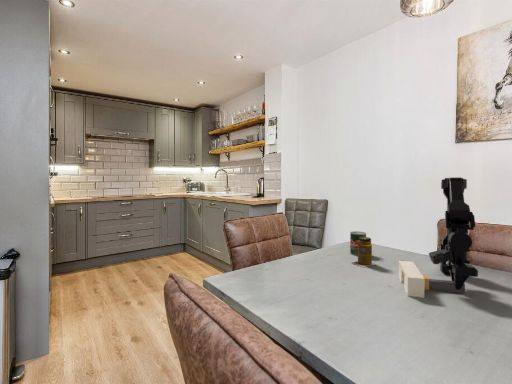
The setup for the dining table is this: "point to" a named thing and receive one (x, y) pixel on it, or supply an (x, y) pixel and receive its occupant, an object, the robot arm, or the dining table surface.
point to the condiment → (364, 252)
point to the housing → (411, 279)
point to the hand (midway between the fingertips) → (456, 287)
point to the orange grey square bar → (441, 285)
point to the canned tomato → (355, 241)
